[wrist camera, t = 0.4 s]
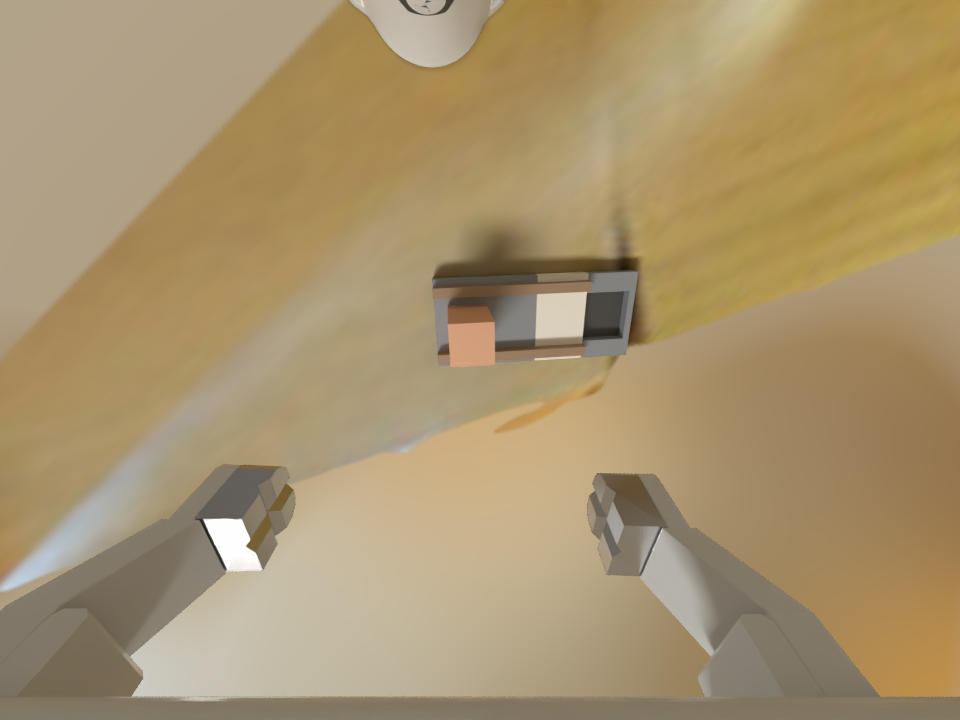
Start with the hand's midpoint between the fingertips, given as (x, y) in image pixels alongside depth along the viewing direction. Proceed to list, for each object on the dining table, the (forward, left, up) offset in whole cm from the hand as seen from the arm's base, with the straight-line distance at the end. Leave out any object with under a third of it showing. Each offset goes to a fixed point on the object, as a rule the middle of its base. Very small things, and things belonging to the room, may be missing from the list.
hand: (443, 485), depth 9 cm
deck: (+9, +13, -46) cm, 49 cm away
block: (+9, +3, -44) cm, 45 cm away
